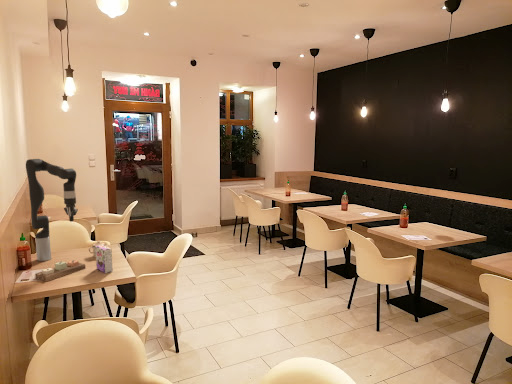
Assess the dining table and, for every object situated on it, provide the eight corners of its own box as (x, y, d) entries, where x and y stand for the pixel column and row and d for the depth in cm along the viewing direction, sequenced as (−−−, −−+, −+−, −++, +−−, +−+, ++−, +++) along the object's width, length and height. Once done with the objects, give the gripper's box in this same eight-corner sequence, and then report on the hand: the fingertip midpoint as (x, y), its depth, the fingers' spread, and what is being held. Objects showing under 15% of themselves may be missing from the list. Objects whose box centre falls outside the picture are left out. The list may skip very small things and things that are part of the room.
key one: (42, 276, 250) (41, 269, 249) (49, 273, 254) (49, 267, 253) (46, 277, 247) (46, 270, 246) (54, 275, 251) (53, 268, 251)
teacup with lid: (106, 253, 301) (105, 239, 300) (105, 257, 293) (104, 242, 291) (90, 254, 298) (89, 240, 297) (88, 258, 290) (87, 243, 288)
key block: (35, 278, 249) (35, 273, 249) (74, 265, 273) (74, 261, 273) (46, 281, 243) (46, 276, 243) (85, 268, 267) (85, 264, 267)
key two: (55, 269, 257) (54, 263, 256) (62, 267, 261) (61, 260, 261) (59, 270, 254) (59, 264, 254) (66, 268, 259) (66, 262, 258)
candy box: (96, 268, 266) (94, 245, 264) (104, 266, 270) (103, 244, 268) (104, 273, 256) (103, 249, 254) (113, 271, 260) (111, 248, 258)
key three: (67, 268, 265) (67, 261, 264) (74, 265, 269) (73, 259, 269) (72, 269, 262) (71, 263, 262) (78, 267, 267) (78, 260, 266)
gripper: (59, 197, 270) (61, 221, 272) (70, 198, 263) (72, 223, 266) (69, 195, 276) (70, 219, 279) (80, 197, 270) (82, 221, 272)
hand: (71, 221), depth 272 cm, fingers closed
